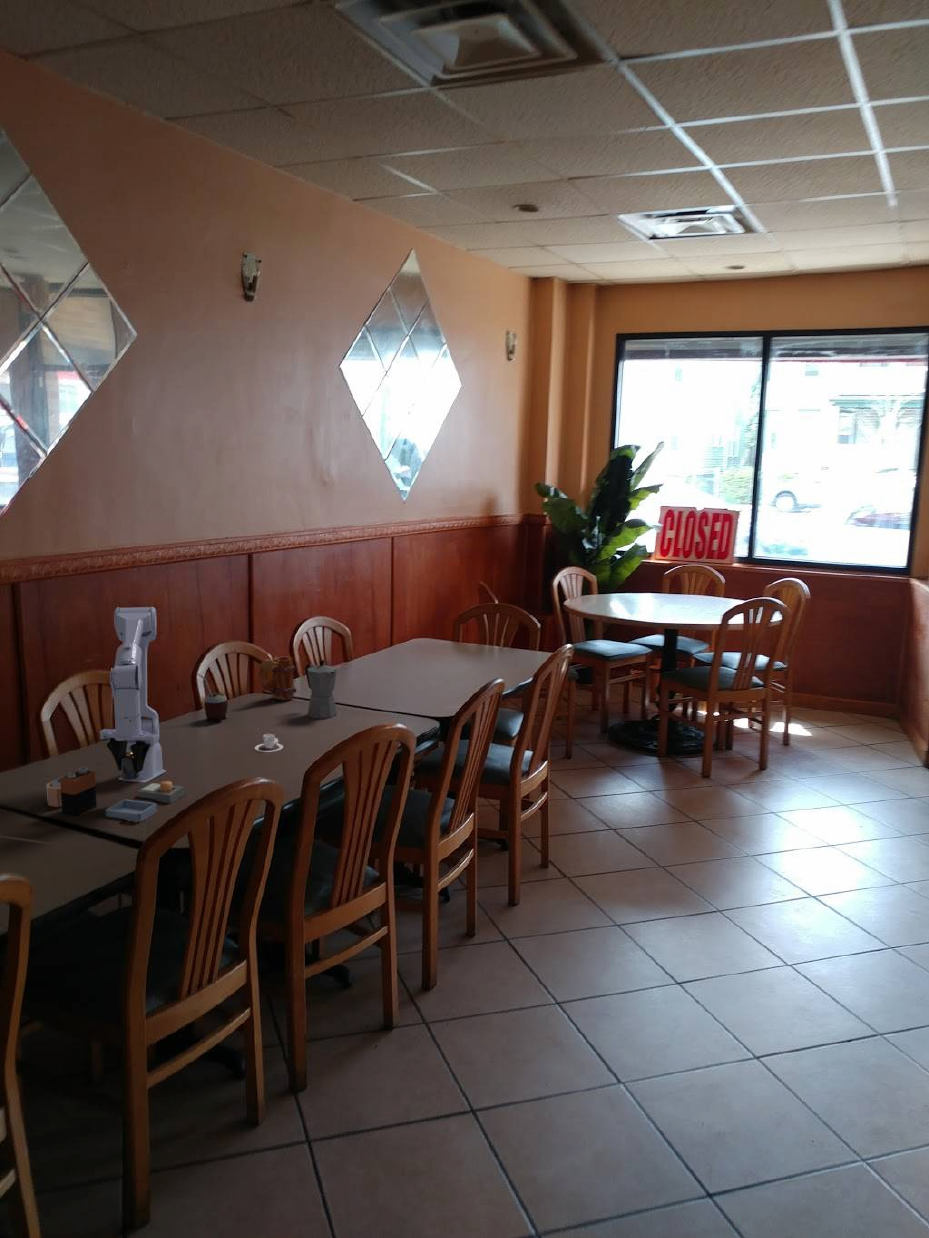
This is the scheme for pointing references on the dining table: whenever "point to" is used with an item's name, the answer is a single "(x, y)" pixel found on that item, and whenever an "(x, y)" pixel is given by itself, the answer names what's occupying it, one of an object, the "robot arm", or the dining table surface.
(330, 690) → the coffeepot
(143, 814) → the trough tray
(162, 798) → the base
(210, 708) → the mate gourd
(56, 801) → the cup
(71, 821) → the dining table surface
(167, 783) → the button
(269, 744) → the teacup and saucer
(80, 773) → the battery
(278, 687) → the mug
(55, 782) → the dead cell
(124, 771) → the copper top cell
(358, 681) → the dining table surface
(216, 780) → the dining table surface
